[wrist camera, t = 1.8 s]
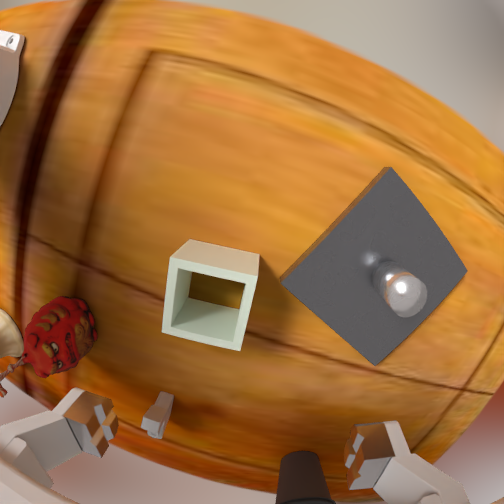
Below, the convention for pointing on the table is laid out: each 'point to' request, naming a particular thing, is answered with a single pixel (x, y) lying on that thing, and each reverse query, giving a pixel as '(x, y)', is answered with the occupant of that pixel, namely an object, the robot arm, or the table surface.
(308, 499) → the coffee cup
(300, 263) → the plate
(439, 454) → the table surface
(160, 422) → the lighter
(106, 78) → the table surface
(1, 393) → the red clay folk toy
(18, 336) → the hand bell
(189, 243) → the sleeve
